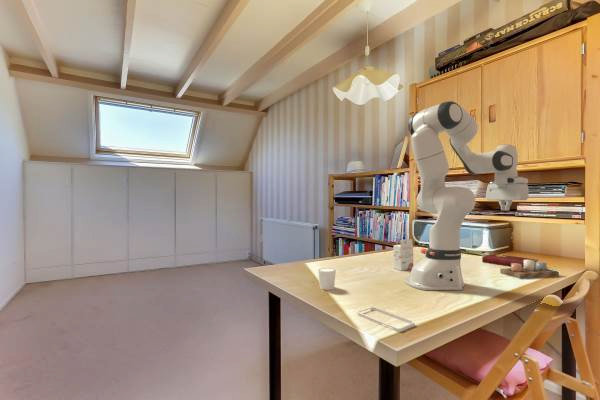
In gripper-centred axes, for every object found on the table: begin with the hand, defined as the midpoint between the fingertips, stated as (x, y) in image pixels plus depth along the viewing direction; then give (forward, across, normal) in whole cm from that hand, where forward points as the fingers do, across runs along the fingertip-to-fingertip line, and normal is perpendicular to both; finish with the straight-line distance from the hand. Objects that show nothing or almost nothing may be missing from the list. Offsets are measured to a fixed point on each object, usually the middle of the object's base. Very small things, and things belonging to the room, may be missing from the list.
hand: (505, 210), depth 139 cm
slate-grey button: (+28, +6, +14) cm, 31 cm away
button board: (+28, +6, +7) cm, 30 cm away
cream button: (+27, +6, +7) cm, 28 cm away
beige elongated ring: (+32, +41, -78) cm, 94 cm away
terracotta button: (+28, +6, +1) cm, 29 cm away
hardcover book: (+29, -14, +16) cm, 36 cm away
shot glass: (+32, +8, -86) cm, 92 cm away
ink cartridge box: (+30, -16, -42) cm, 54 cm away
